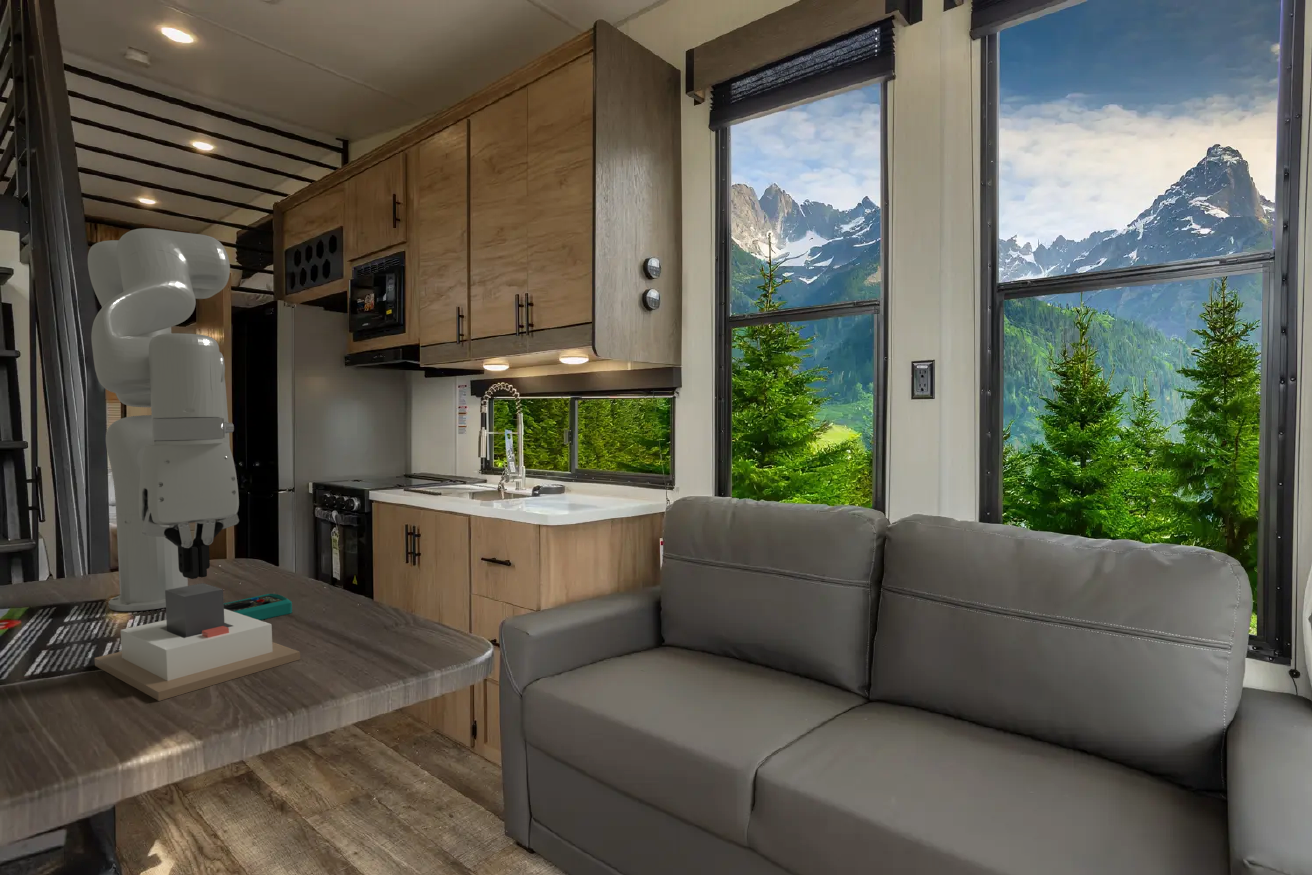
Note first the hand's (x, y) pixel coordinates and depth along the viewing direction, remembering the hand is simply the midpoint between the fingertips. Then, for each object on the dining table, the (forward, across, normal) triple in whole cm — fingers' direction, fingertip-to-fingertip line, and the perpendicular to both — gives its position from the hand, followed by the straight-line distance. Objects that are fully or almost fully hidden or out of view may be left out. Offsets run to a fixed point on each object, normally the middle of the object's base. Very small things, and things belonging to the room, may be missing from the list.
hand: (194, 576), depth 93 cm
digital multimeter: (+12, -12, -16) cm, 23 cm away
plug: (+10, 0, 0) cm, 10 cm away
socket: (+11, 0, 0) cm, 11 cm away
